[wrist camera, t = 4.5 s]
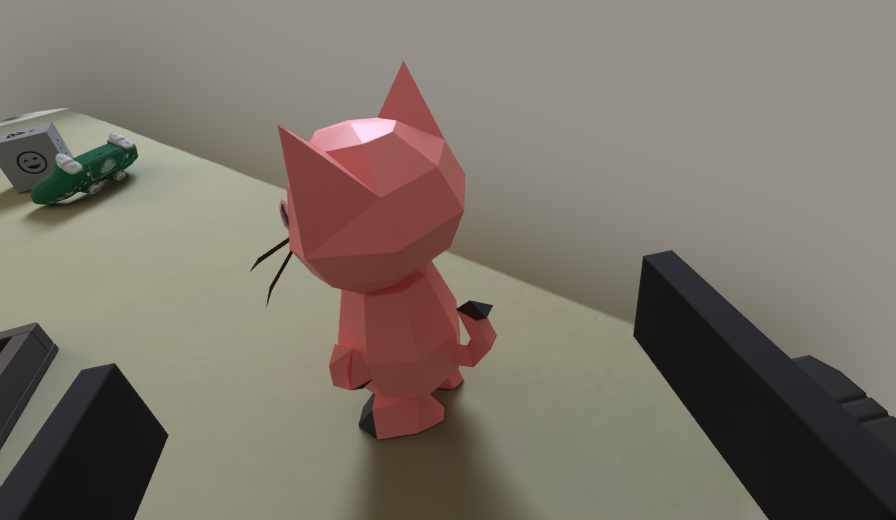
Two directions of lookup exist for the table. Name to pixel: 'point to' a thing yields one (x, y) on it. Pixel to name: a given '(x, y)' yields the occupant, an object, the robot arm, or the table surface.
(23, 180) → the dice cube
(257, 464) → the table surface
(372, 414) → the cat figurine
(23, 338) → the black tray
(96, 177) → the green elongated piece
